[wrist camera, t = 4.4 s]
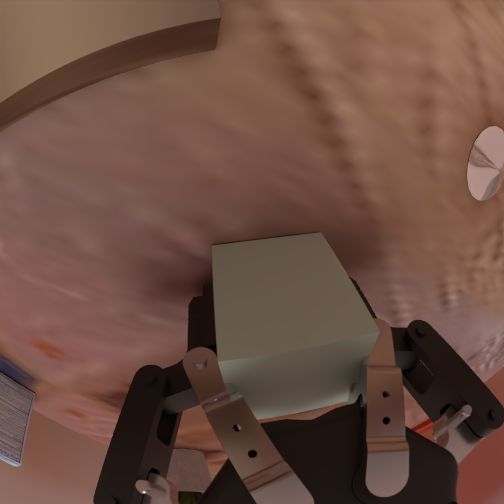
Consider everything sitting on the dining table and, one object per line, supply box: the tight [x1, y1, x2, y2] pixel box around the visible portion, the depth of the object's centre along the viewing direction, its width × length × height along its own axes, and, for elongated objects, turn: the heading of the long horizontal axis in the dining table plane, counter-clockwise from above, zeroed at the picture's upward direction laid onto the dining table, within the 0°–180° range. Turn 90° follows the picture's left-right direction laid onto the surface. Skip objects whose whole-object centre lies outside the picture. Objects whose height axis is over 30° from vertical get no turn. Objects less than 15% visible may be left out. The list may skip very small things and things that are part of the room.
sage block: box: [212, 232, 380, 420], centre depth 12 cm, size 5×5×6 cm
